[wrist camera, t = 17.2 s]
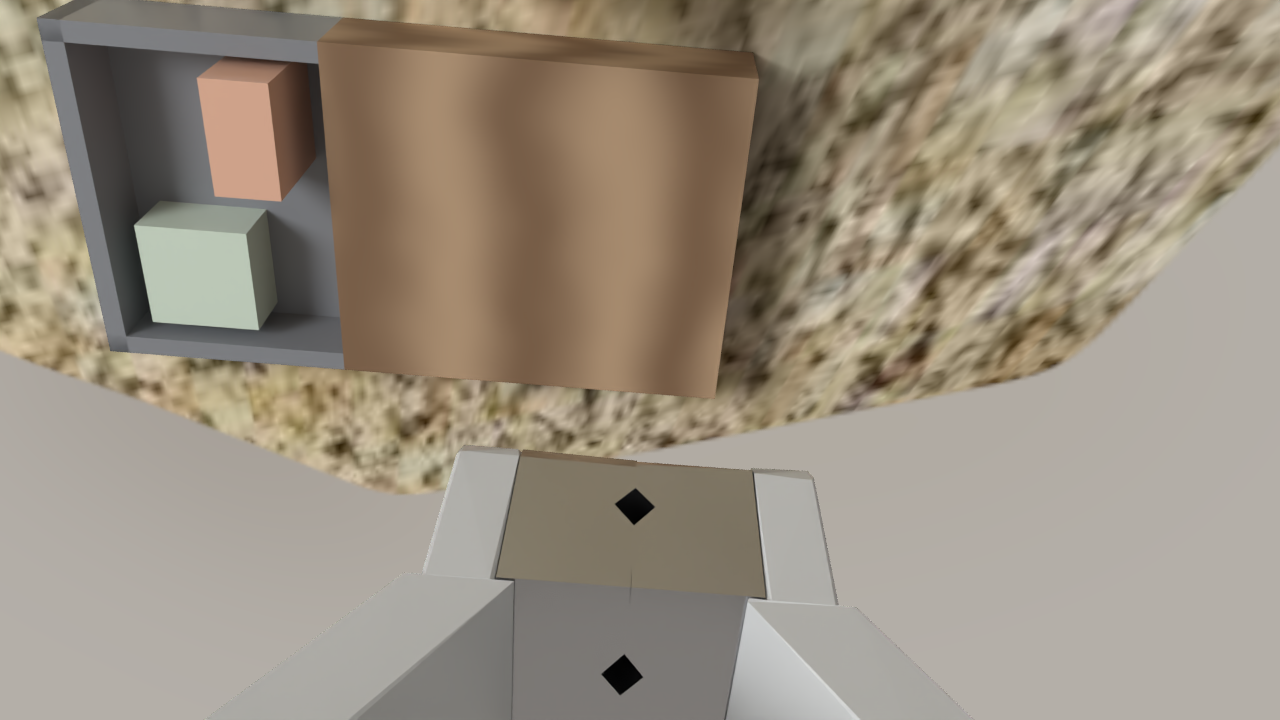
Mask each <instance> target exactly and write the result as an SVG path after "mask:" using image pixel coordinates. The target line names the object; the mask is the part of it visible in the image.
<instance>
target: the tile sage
mask: <svg viewBox="0 0 1280 720" xmlns="http://www.w3.org/2000/svg"><path fill="white" fill-rule="evenodd" d="M134 228H135V233H136V238H137V243H138V248H139V253H140V258H141V263H142V269H143V274H144V279H145V284H146V289H147V294H148V299H149V304H150V309H151V315H152V320H153V322H161V323H173V324H186V325H199V326H212V327H225V328H238V329H250V330H259V329H260V328H261V326H262V325H263V323H264V322H265V320H266V319H267V317H268V316H269V314H270V313H271V311H272V310H273V308H274V307H275V305H276V304H277V302H278V301H277V293H276V284H275V276H274V268H273V260H272V251H271V243H270V235H269V227H268V219H267V210H266V209H257V208H244V207H232V206H219V205H207V204H194V203H182V202H169V201H159V202H158V203H157V204H156V205H155V206H154V207H153V208H152V209H151V210H150V211H148V212H147V213H146V214H145V215H144V216H143V217H142V218H141V219H140V220H139V221H138V222H137V223H136V224H135V225H134Z"/></svg>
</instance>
